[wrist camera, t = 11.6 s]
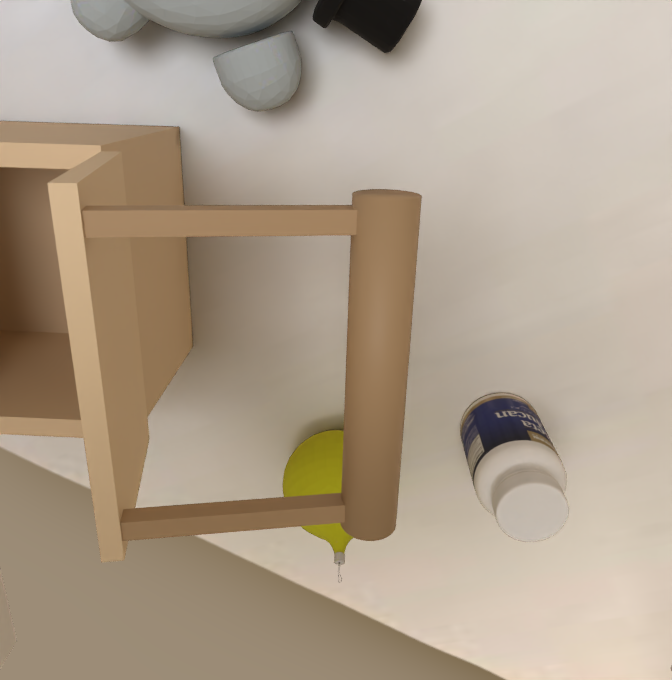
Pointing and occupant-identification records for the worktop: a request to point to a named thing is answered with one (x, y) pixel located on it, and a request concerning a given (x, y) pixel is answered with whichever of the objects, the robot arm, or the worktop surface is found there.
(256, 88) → the figurine
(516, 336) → the worktop surface
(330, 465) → the ornament
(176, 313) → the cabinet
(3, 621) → the robot arm
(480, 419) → the pill bottle
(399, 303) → the tan handled panel part
